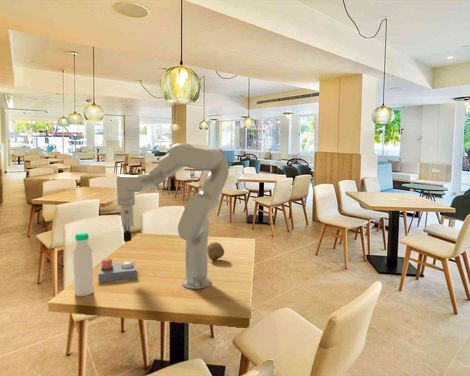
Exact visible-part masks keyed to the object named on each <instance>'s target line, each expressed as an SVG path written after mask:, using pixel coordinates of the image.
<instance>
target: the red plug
mask: <svg viewBox="0 0 470 376" xmlns="http://www.w3.org/2000/svg"><path fill="white" fill-rule="evenodd" d="M112 264H113V259H112V258H103V259H102V260H101V265H102V271H107V270H112Z"/></svg>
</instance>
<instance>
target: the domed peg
mask: <svg viewBox="0 0 470 376" xmlns="http://www.w3.org/2000/svg"><path fill="white" fill-rule="evenodd" d="M132 262H133V261H124V262H122V263H123V269H127V268H133V263H132Z"/></svg>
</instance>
